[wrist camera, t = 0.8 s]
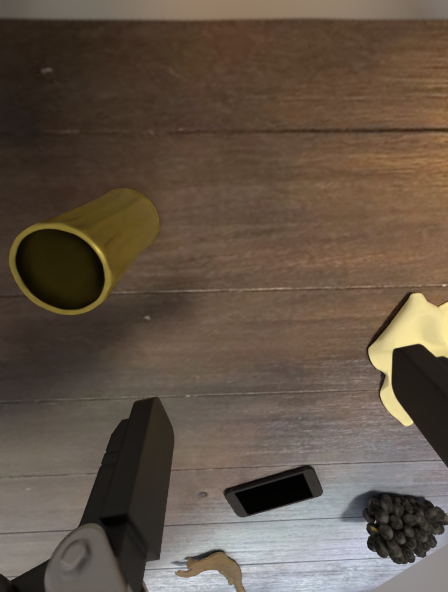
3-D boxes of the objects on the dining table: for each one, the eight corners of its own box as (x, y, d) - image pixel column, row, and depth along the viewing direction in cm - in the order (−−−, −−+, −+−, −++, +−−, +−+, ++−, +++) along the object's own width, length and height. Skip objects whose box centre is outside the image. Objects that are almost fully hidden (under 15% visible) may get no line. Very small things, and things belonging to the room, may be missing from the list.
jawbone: (208, 538, 54) (209, 551, 52) (275, 572, 61) (278, 585, 59) (174, 562, 55) (173, 576, 54) (243, 593, 63) (245, 606, 61)
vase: (122, 262, 30) (56, 338, 17) (82, 208, 28) (-29, 251, 15) (171, 233, 29) (141, 291, 16) (134, 174, 27) (64, 189, 14)
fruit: (487, 559, 42) (390, 562, 40) (450, 564, 48) (364, 567, 46) (451, 489, 48) (366, 489, 47) (422, 500, 54) (345, 502, 52)
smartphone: (222, 490, 47) (222, 496, 46) (311, 463, 45) (313, 469, 44) (238, 513, 50) (238, 519, 49) (322, 489, 48) (324, 495, 47)
